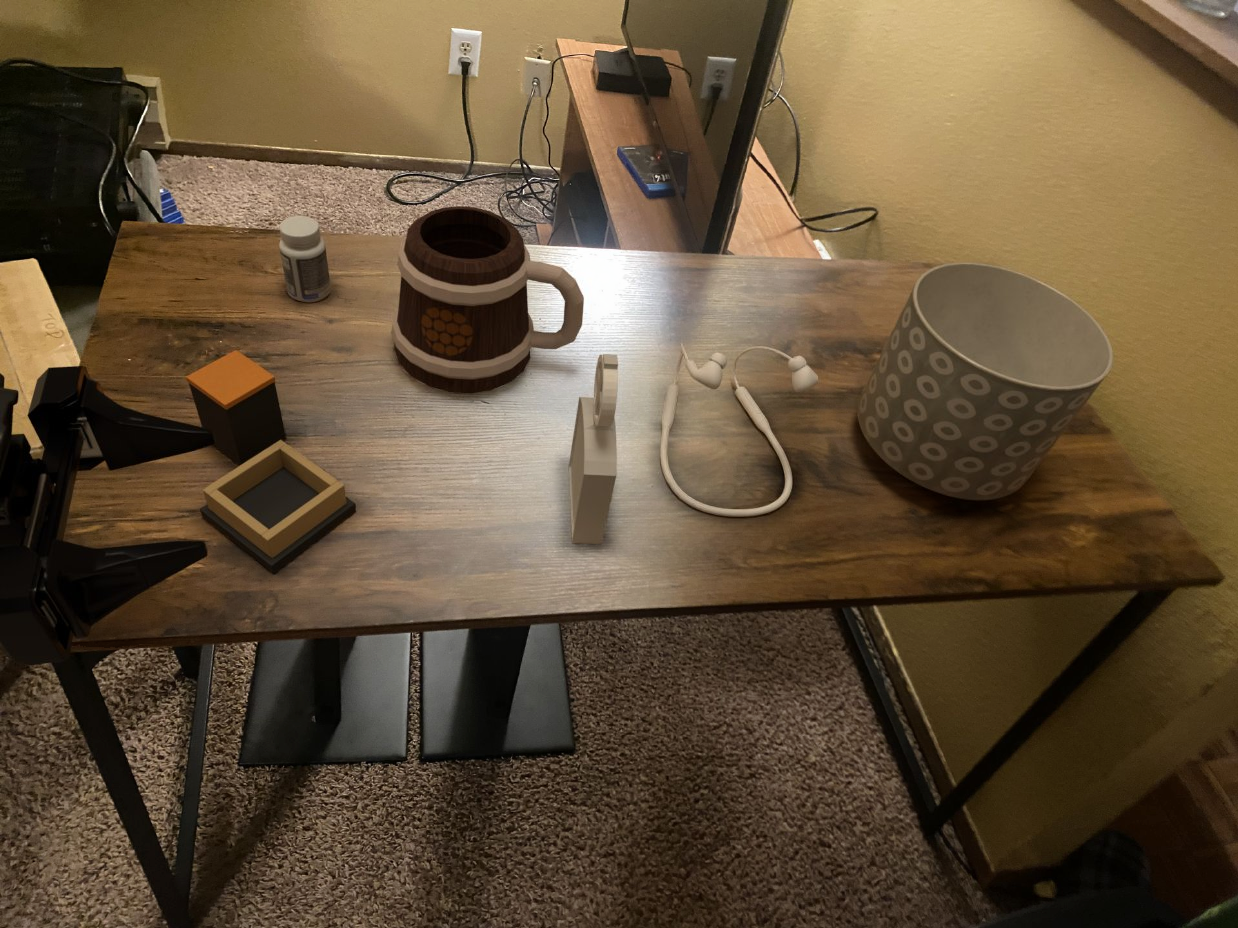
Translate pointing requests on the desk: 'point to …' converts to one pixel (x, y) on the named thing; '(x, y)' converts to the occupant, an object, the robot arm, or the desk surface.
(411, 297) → the mug
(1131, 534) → the desk surface
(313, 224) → the pill bottle
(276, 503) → the base pad
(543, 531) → the desk surface
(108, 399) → the robot arm
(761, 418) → the earphone
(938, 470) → the planter
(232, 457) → the orange rectangular block
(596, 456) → the gravestone
